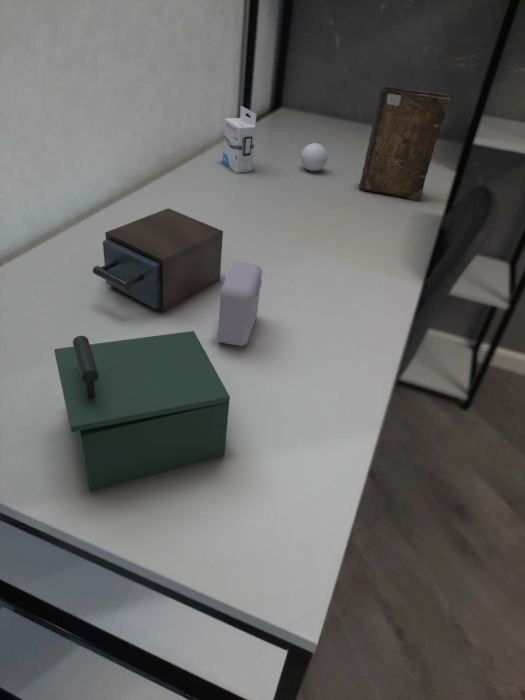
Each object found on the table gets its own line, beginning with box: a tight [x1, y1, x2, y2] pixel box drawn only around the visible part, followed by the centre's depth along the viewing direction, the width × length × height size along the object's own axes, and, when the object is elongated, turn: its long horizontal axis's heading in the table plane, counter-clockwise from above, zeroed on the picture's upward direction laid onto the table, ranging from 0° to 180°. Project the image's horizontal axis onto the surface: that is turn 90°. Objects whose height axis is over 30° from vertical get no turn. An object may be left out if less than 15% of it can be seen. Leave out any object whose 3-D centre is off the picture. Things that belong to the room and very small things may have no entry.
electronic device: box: [217, 260, 263, 347], centre depth 80 cm, size 10×5×10 cm, turn 170°
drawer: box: [92, 239, 161, 310], centre depth 86 cm, size 18×11×8 cm, turn 145°
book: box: [358, 86, 451, 201], centre depth 132 cm, size 17×7×25 cm, turn 75°
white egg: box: [300, 142, 328, 172], centre depth 144 cm, size 10×7×7 cm
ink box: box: [222, 105, 257, 174], centre depth 138 cm, size 8×5×15 cm, turn 32°
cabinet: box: [104, 207, 224, 313], centre depth 89 cm, size 15×13×10 cm
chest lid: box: [53, 330, 231, 433], centre depth 56 cm, size 16×13×5 cm
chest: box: [75, 401, 230, 492], centre depth 61 cm, size 16×13×9 cm
